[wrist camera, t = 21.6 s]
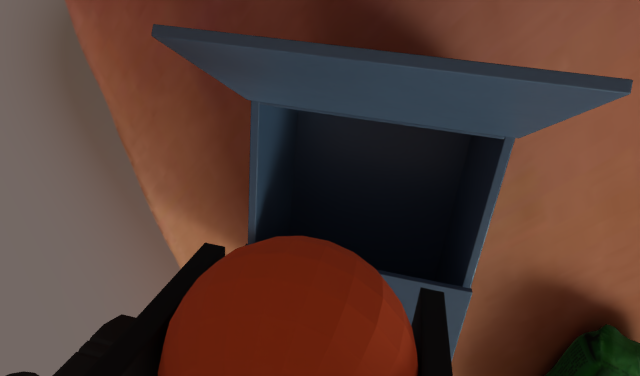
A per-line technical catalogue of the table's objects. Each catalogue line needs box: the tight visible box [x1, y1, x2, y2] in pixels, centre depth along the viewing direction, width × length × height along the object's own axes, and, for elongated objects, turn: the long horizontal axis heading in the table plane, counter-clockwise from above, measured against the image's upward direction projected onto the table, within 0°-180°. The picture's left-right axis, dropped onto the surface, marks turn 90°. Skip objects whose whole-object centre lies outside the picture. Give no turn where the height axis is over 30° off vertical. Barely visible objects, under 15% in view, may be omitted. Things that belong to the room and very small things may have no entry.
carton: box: [245, 100, 515, 362], centre depth 29 cm, size 19×14×10 cm
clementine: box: [158, 236, 419, 376], centre depth 12 cm, size 8×7×7 cm
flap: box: [152, 24, 633, 138], centre depth 16 cm, size 9×14×1 cm
